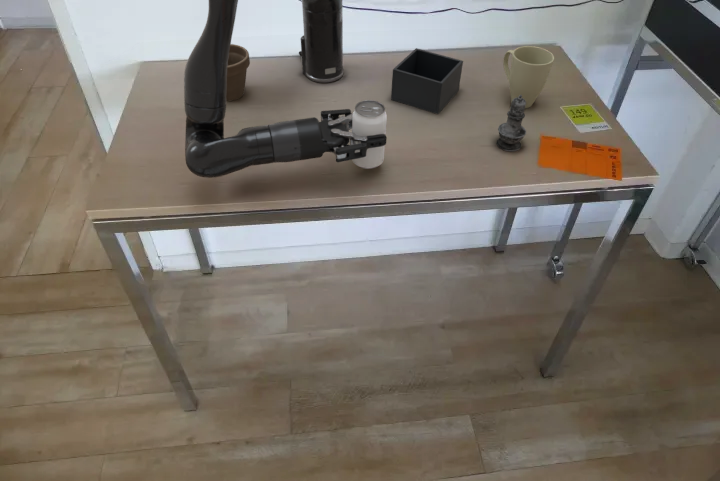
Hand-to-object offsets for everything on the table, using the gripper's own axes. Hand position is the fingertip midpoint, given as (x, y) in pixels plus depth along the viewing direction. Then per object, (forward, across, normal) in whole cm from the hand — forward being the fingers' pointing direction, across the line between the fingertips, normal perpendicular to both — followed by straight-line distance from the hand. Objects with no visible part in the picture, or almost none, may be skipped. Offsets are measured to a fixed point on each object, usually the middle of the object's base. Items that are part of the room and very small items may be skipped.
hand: (380, 128), depth 108 cm
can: (-2, 0, +7) cm, 8 cm away
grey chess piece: (+29, 0, +9) cm, 31 cm away
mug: (+39, +16, +9) cm, 44 cm away
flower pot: (-26, +35, +10) cm, 45 cm away
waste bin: (+19, +24, +9) cm, 32 cm away
